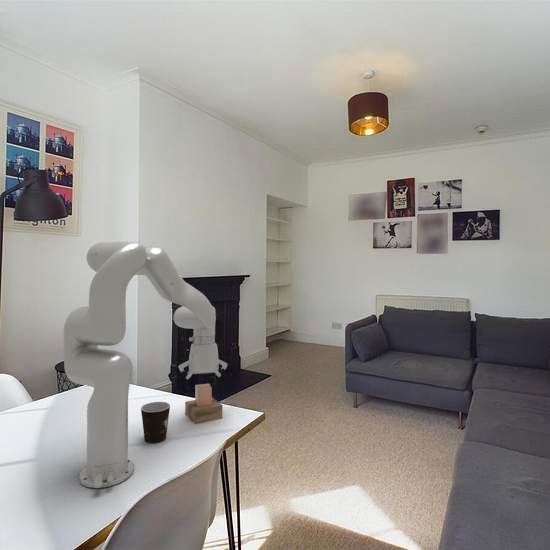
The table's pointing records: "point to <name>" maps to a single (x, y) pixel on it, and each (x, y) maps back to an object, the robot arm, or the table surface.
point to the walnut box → (203, 411)
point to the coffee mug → (155, 421)
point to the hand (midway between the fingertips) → (202, 388)
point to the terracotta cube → (203, 394)
